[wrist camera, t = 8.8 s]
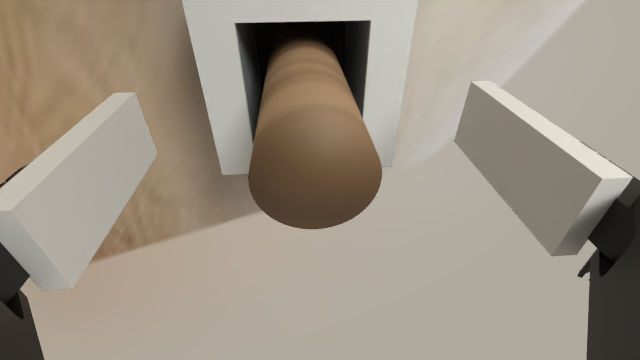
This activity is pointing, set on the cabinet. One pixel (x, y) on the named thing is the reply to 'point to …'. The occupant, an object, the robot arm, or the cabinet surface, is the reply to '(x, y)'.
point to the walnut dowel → (310, 136)
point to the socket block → (243, 71)
